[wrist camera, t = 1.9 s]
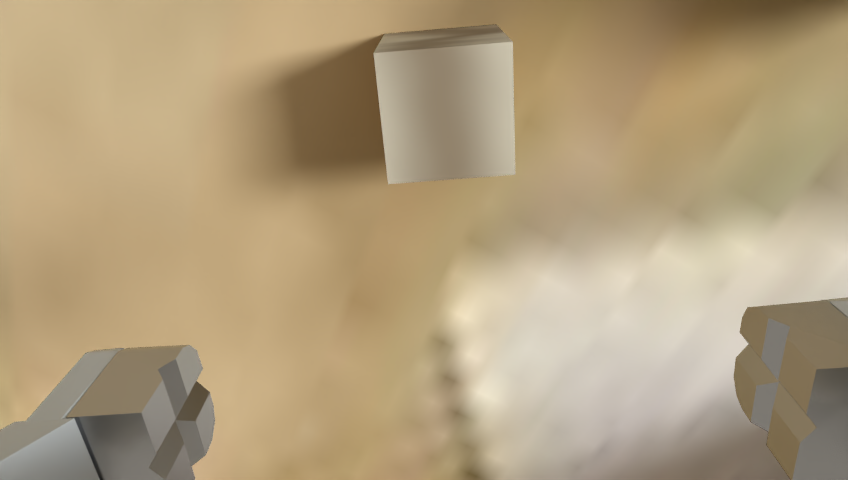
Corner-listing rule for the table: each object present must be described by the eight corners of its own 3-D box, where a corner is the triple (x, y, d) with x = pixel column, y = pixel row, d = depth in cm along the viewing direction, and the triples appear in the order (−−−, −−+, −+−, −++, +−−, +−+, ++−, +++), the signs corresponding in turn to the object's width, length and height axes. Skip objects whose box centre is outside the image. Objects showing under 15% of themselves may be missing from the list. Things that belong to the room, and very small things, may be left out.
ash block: (496, 24, 27) (512, 41, 22) (499, 133, 29) (515, 174, 24) (384, 33, 28) (373, 53, 22) (395, 141, 30) (388, 183, 24)
